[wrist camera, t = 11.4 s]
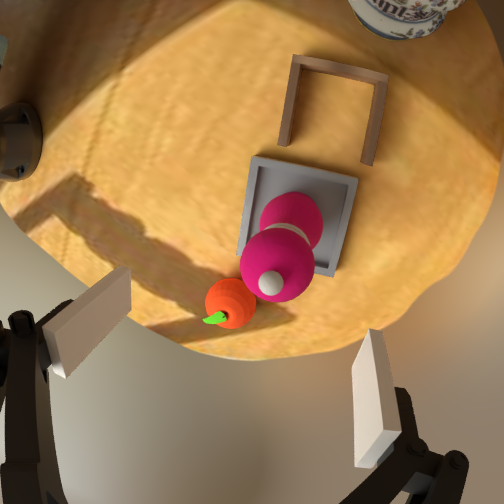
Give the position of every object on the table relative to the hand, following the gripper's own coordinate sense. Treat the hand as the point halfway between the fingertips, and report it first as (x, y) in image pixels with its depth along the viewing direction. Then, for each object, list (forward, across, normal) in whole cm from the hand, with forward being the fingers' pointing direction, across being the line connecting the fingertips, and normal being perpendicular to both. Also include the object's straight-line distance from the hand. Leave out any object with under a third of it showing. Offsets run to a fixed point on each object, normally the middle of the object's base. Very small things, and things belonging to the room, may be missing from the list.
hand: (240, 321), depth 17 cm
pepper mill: (+26, +1, -1) cm, 26 cm away
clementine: (+27, -5, -14) cm, 31 cm away
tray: (+27, +1, -1) cm, 27 cm away
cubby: (+27, +3, +13) cm, 30 cm away
